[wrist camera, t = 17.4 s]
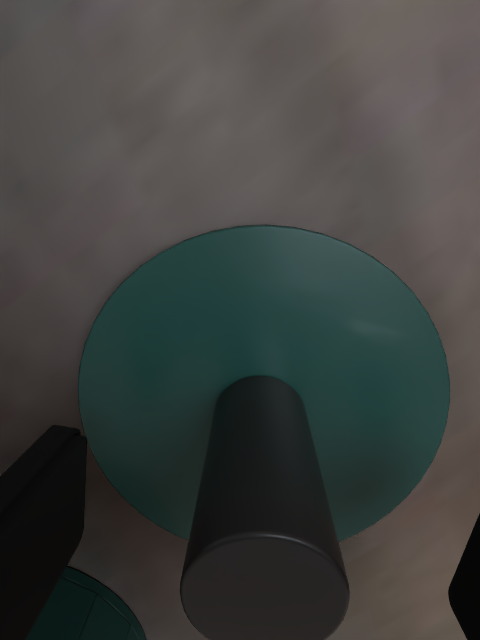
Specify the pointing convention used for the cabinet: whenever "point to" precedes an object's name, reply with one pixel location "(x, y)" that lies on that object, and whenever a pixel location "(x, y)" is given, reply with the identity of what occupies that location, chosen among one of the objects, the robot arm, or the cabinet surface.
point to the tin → (84, 612)
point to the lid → (264, 416)
